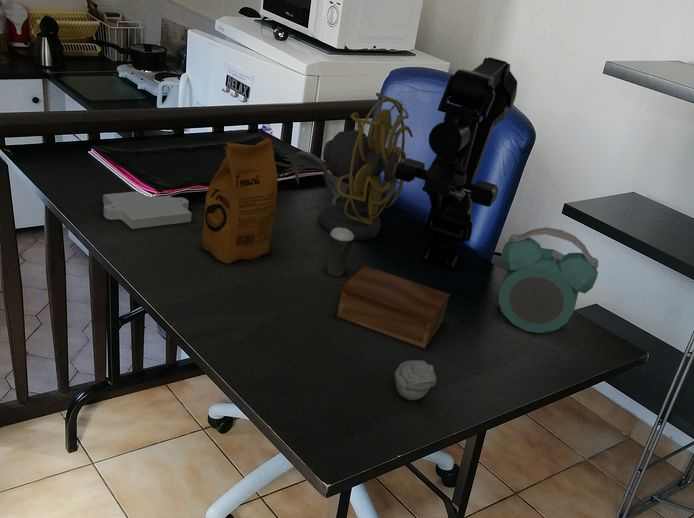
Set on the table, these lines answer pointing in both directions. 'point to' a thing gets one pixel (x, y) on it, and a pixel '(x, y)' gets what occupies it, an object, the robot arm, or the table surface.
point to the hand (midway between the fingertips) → (435, 224)
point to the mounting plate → (145, 209)
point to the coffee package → (241, 203)
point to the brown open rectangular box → (389, 320)
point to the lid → (396, 294)
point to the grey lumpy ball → (414, 379)
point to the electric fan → (362, 171)
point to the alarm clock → (543, 281)
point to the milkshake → (339, 250)
